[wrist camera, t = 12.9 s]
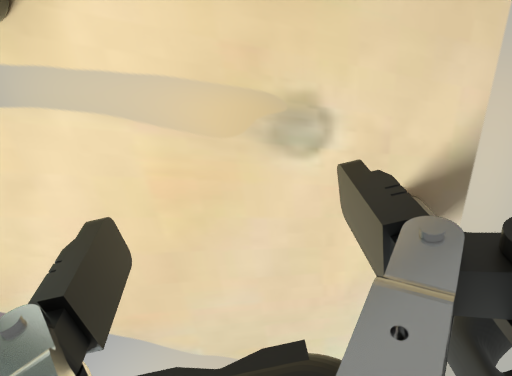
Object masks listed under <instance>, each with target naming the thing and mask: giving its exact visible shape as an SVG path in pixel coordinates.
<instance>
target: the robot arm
mask: <svg viewBox="0 0 512 376" xmlns="http://www.w3.org/2000/svg"><path fill="white" fill-rule="evenodd" d="M337 173H338V183H339V193H340V202H341V208H342V212H343V215H344V218H345V220H346V222H347V224H348V225H349V227H350V229H351V231H352V233H353V234H354V236H355V238H356V240H357V242H358V243H359V245H360V247H361V249H362V251H363V252H364V254H365V256H366V258H367V260H368V261H369V263H370V265H371V267H372V269H373V271H374V272H375V274H376V276H377V277H376V278H375V280H374V282H373V284H372V286H371V289H370V291H369V294H368V296H367V299H366V301H365V304H364V306H363V309H362V311H361V314H360V317H359V319H358V322H357V324H356V327H355V329H354V332H353V334H352V337H351V339H350V342H349V344H348V347H347V349H346V352H345V354H344V357H343V359H342V360H340V359H337V358H333V357H330V356H326V355H320V354H311V353H308V352H307V348H306V343H305V340H301V341H296V342H291V343H287V344H282V345H278V346H273V347H268V348H264V349H261V350H259V351H257V352H255V353H253V354H250V355H248V356H246V357H244V358H242V359H240V360H238V361H236V362H234V363H232V364H230V365H227V366H226V367H223V368H221V369H200V368H181V367H175V368H171V369H166V370H161V371H157V372H152V373H147V374H143V375H138V376H445V371H446V365H447V362H448V363H449V365H450V367H451V368H452V370H453V371H454V373H455V375H456V376H512V370H510V371H507V372H503V373H502V372H500V371H499V370H498V369H496V367H495V366H496V364H497V363H498V361H499V359H500V358H501V357H502V356H503V355H504V354H505V353H506V352H507V351H508V350H509V349H510V348H511V347H512V217H511V218H509V219H508V220H506V221H505V222H504V224H503V227H502V232H501V233H469V232H468V233H467V232H463V230H462V229H461V228H460V227H459V226H458V225H457V224H456V223H454V222H452V221H450V220H448V219H445V218H442V217H437V216H436V215H435V214H434V213H433V212H432V211H431V210H430V209H429V208H428V207H427V206H426V205H425V204H424V203H423V202H422V201H421V200H420V199H418V198H416V197H413V196H411V195H410V194H409V193H407V191H406V190H405V189H404V188H403V187H402V186H400V184H399V182H398V181H397V180H396V179H395V178H394V177H393V176H392V175H389V174H387V173H385V172H383V171H380V170H376V171H372V172H371V171H370V170H369V169H368V168H367V167H366V165H365V164H364V163H363V162H362V161H361V160H355V161H351V162H347V163H342V164H338V166H337ZM131 266H132V258H131V253H130V251H129V249H128V247H127V245H126V243H125V241H124V239H123V237H122V236H121V234H120V232H119V230H118V228H117V226H116V224H115V222H114V221H113V220H112V219H111V218H109V217H106V218H102V219H97V220H93V221H89V222H86V223H85V224H84V226H83V227H82V229H81V230H80V232H79V234H78V235H77V237H76V239H74V240H73V241H72V242H71V243H70V244H68V245H67V246H66V247H65V248H64V249H63V250H62V251H61V253H60V254H59V256H58V258H57V259H56V261H55V264H53V265H52V267H51V269H50V270H49V273H48V274H47V275H46V276H45V278H44V280H43V281H42V283H41V284H40V286H39V287H38V289H37V290H36V292H35V294H34V295H33V297H32V298H31V300H30V301H29V303H28V304H27V305H23V306H20V307H18V308H15V309H13V310H11V311H10V312H8V313H6V314H5V315H3V316H2V317H1V318H0V376H92V375H91V373H90V371H89V369H88V367H87V366H86V364H85V363H84V362H83V360H84V357H85V355H86V354H87V353H91V352H96V351H100V350H103V349H104V346H105V343H106V340H107V337H108V334H109V331H110V328H111V325H112V322H113V319H114V317H115V314H116V311H117V308H118V305H119V302H120V299H121V296H122V293H123V290H124V287H125V284H126V281H127V278H128V276H129V273H130V270H131Z"/></svg>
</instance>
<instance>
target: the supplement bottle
mask: <svg viewBox="0 0 512 376" xmlns="http://www.w3.org/2000/svg"><path fill="white" fill-rule="evenodd" d="M8 9H9V0H0V22H1V21H2V20H3V19H4V17H5V16H6V14H7V12H8Z"/></svg>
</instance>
